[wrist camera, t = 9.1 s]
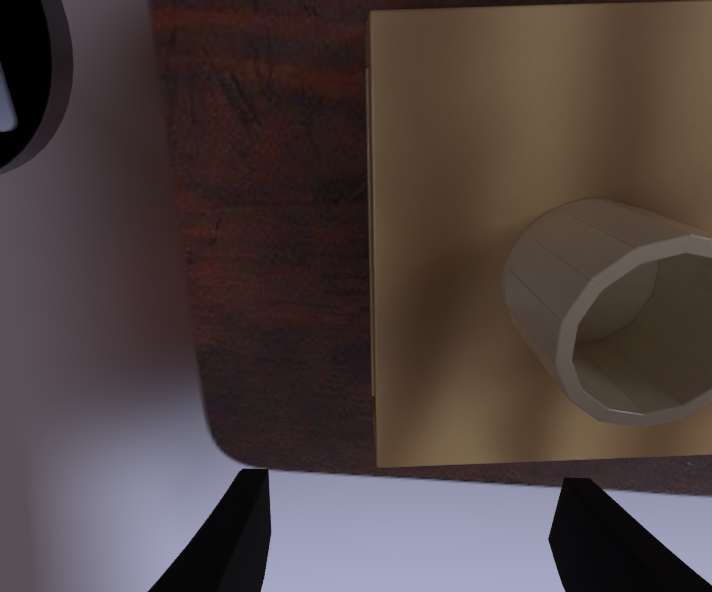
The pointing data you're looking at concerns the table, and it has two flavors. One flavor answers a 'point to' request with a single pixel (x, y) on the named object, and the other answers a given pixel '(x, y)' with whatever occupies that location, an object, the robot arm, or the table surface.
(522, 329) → the ramekin
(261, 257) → the table surface
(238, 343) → the table surface
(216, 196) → the table surface
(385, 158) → the square wooden board
